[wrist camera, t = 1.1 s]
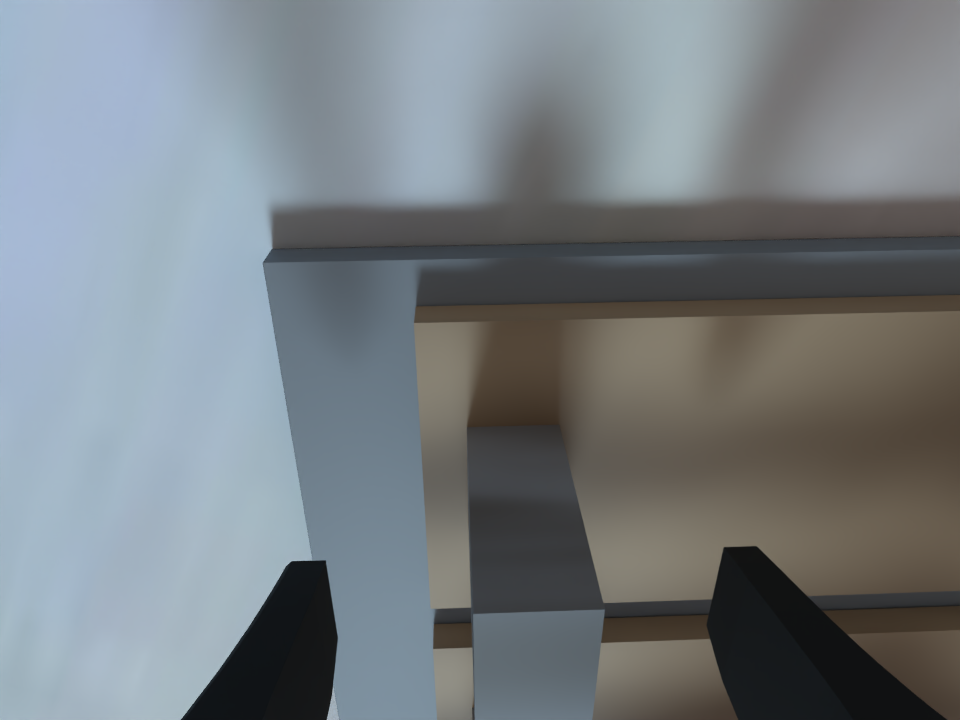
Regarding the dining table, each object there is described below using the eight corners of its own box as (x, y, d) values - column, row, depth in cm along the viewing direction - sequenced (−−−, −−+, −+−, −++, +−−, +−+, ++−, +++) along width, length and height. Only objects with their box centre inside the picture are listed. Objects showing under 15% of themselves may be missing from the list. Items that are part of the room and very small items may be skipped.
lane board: (1296, 756, 25) (1321, 778, 24) (358, 795, 24) (356, 820, 23) (1799, 220, 15) (1863, 231, 15) (271, 249, 14) (262, 262, 14)
